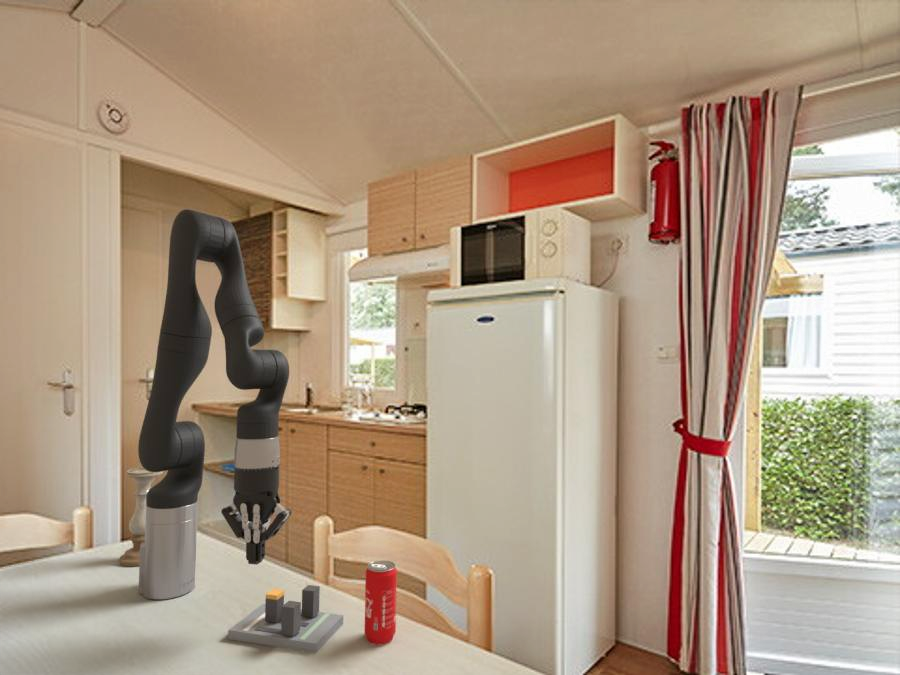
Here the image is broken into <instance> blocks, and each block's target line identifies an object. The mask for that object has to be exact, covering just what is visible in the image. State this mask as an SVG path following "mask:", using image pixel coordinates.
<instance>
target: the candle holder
mask: <svg viewBox="0 0 900 675" xmlns="http://www.w3.org/2000/svg"><path fill="white" fill-rule="evenodd" d="M163 473H164V471H161V472H149V471H147V470H145V469H144V467H143V466H142V467H135V468H130V469H128V470H126V471H125V477H126V478H130V479H131V478H132V479H133V482H134V483H135V484H136V487H137V488H136V490H135V492H134V493H133V495H134V496H136V504H135V510H134V512H133V514H132V516H131V519H130V520H129V524H128V529H129V531H130V532H131V533H132V535H131V536H130V538H129V540H130V541H131V543H132V547H130V548H129V549H127V550H126V551H124V553H123V554H122V555H120V556H119V558H118V563H119V564H120V565H121V566H124V567H140V545H141V544H142V543H144V542H145V524H146V497H147V492H148V491H149V490H150V489H151V488H152V483H153V482H154V481H155V477H157V476H160V475H162V474H163Z"/></svg>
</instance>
